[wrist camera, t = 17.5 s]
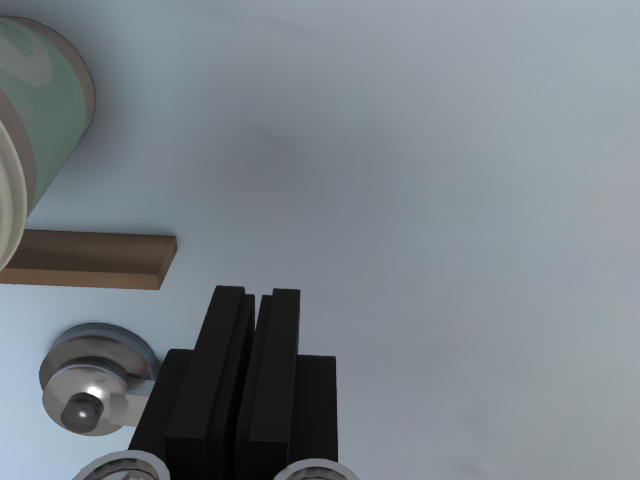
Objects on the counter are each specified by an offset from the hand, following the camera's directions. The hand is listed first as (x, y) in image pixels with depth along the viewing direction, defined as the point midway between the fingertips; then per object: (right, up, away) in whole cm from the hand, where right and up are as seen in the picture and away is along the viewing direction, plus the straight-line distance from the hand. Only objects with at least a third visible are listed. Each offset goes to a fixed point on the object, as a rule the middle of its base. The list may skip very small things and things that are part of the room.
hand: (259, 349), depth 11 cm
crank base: (-11, -5, +20) cm, 23 cm away
